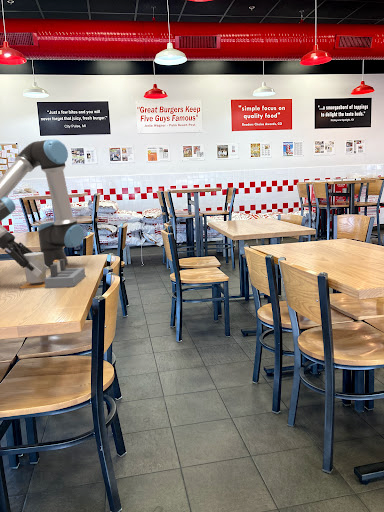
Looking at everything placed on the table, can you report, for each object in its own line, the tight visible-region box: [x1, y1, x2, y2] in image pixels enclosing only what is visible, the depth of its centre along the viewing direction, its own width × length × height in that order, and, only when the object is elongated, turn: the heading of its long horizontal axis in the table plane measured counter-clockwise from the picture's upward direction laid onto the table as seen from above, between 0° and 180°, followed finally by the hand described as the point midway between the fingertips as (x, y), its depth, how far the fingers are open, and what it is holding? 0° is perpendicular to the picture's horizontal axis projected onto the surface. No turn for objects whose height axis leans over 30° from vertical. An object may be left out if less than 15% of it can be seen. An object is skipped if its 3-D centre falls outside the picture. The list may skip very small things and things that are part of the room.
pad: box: [19, 281, 45, 289], centre depth 187 cm, size 11×11×1 cm
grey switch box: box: [44, 259, 86, 289], centre depth 189 cm, size 20×12×9 cm, turn 0°
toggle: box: [53, 260, 61, 273], centre depth 189 cm, size 3×2×5 cm, turn 0°
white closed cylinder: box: [24, 251, 47, 283], centre depth 186 cm, size 8×8×12 cm
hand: (43, 272), depth 186 cm, fingers closed on white closed cylinder, 8 cm apart
